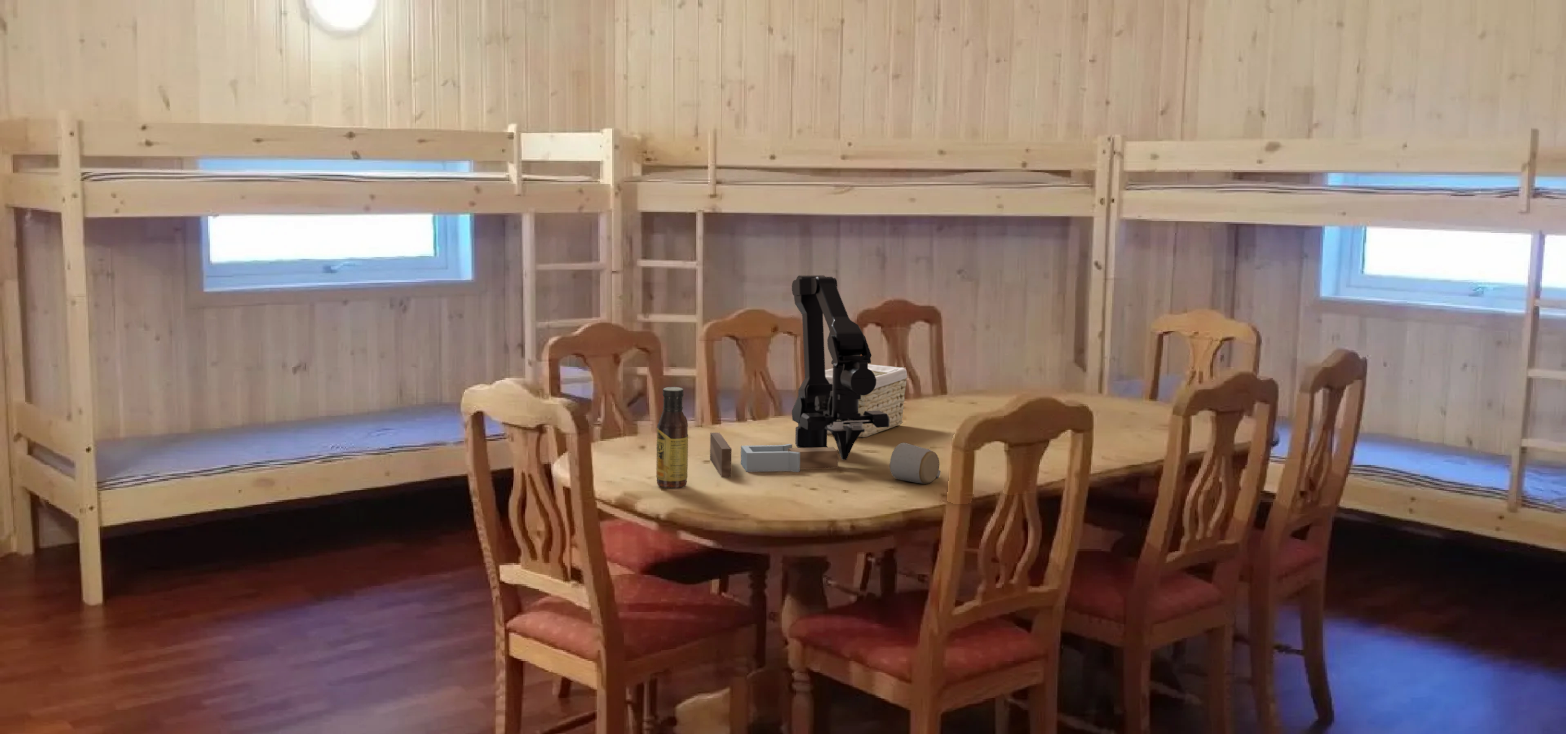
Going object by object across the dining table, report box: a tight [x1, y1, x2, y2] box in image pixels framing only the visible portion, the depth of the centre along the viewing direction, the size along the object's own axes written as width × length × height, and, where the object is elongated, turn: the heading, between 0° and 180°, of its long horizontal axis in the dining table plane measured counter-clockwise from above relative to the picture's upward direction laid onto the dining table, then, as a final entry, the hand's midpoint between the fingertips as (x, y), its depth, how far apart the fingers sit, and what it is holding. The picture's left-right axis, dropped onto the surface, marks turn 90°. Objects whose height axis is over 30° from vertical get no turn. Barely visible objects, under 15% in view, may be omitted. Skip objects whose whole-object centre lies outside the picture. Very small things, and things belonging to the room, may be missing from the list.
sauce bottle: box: [655, 386, 689, 489], centre depth 288 cm, size 7×6×20 cm
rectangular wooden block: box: [788, 446, 839, 470], centre depth 310 cm, size 10×4×4 cm, turn 103°
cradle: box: [740, 443, 801, 473], centre depth 308 cm, size 11×11×4 cm
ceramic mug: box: [889, 442, 942, 485], centre depth 299 cm, size 11×8×8 cm
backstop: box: [709, 432, 733, 478], centre depth 306 cm, size 2×18×6 cm, turn 10°
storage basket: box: [825, 363, 908, 438], centre depth 355 cm, size 24×16×15 cm
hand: (843, 459), depth 312 cm, fingers closed
